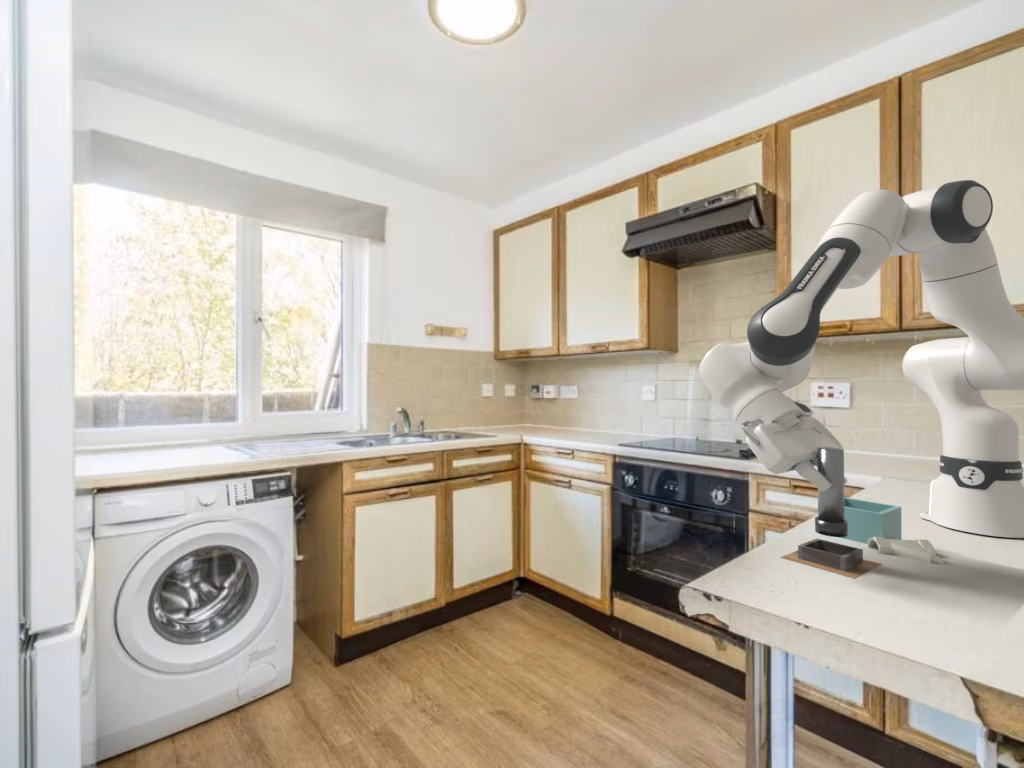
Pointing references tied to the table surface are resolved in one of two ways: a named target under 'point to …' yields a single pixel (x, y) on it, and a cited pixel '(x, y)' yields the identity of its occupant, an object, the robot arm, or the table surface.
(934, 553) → the pipe fitting
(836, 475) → the strut
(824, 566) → the mount plate
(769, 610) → the table surface
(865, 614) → the table surface
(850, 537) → the bin
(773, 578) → the table surface
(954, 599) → the table surface
